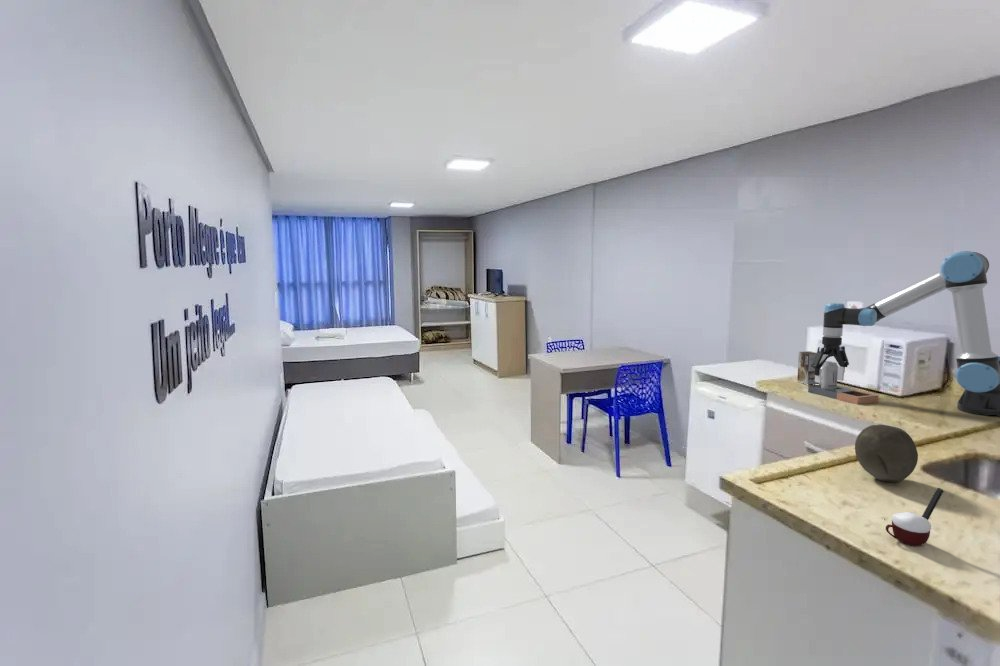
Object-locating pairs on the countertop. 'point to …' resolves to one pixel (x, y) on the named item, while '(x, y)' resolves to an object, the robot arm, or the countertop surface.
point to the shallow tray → (844, 394)
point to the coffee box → (806, 367)
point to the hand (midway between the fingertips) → (829, 381)
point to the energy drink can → (829, 375)
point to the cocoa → (914, 524)
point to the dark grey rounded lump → (886, 452)
